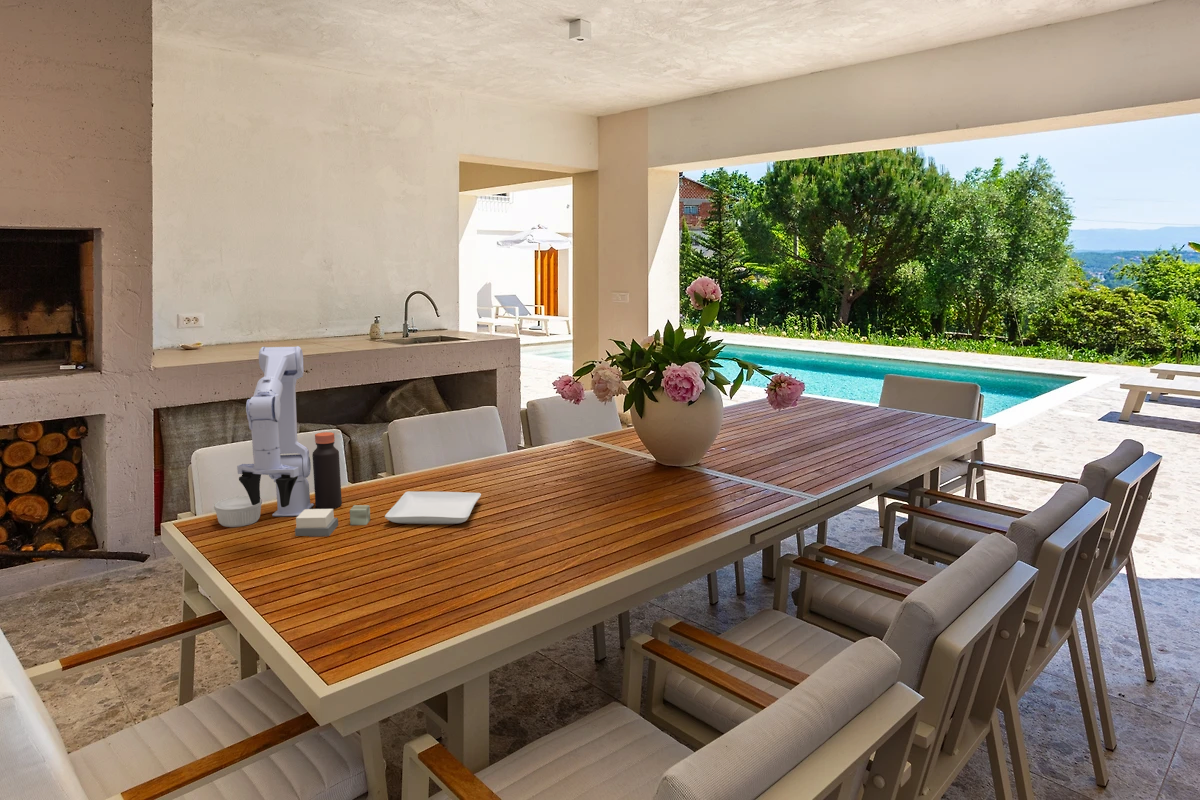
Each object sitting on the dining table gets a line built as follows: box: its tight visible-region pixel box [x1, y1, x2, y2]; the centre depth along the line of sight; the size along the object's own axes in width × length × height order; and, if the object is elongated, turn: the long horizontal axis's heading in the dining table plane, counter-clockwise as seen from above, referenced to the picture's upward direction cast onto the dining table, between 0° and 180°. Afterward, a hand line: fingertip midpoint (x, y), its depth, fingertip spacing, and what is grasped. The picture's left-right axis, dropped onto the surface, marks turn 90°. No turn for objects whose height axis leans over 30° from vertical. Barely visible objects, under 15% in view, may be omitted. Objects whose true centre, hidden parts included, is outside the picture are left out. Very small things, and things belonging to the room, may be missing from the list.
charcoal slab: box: [294, 517, 339, 537], centre depth 194 cm, size 8×8×2 cm
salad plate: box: [384, 490, 482, 525], centre depth 206 cm, size 21×21×3 cm
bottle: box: [311, 431, 343, 510], centre depth 211 cm, size 7×7×20 cm
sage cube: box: [349, 504, 371, 526], centre depth 200 cm, size 4×4×4 cm
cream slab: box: [295, 508, 335, 528], centre depth 193 cm, size 7×7×2 cm
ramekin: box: [213, 495, 263, 528], centre depth 200 cm, size 11×11×5 cm
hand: (270, 504), depth 182 cm, fingers open, 7 cm apart
